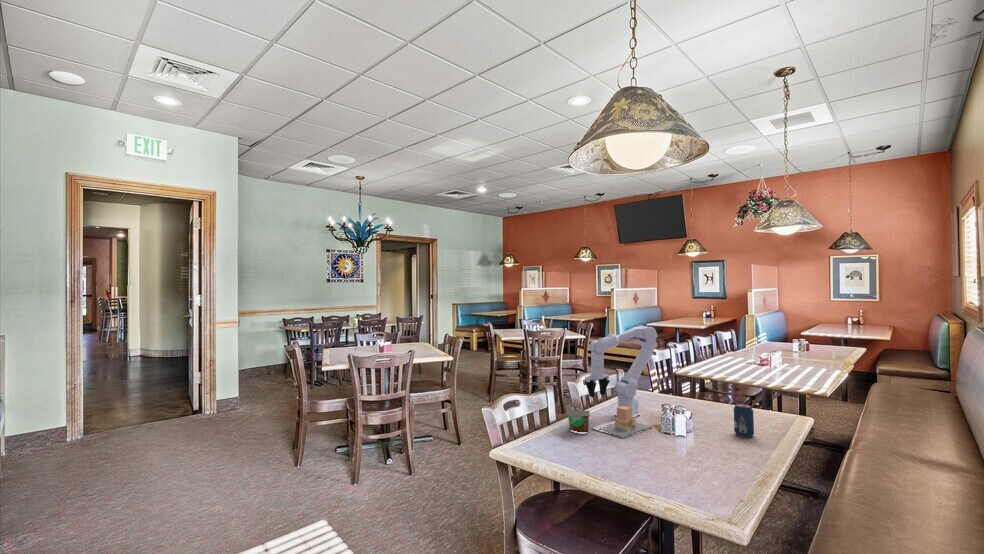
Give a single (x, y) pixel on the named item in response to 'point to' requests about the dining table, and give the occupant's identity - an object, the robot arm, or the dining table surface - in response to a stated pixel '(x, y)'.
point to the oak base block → (625, 424)
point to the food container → (578, 419)
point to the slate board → (623, 433)
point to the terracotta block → (624, 413)
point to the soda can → (743, 420)
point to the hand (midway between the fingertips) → (597, 395)
